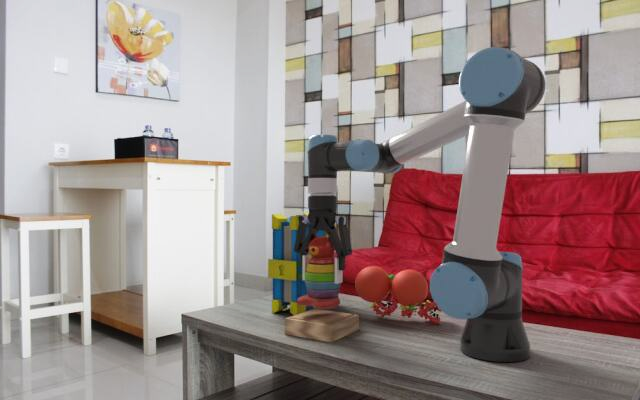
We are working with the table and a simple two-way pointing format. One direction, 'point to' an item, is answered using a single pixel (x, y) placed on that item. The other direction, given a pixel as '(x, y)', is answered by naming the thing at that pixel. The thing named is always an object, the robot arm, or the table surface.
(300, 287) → the decorative book
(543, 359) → the table surface
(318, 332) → the oak stand
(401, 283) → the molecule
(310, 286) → the stacking bear
